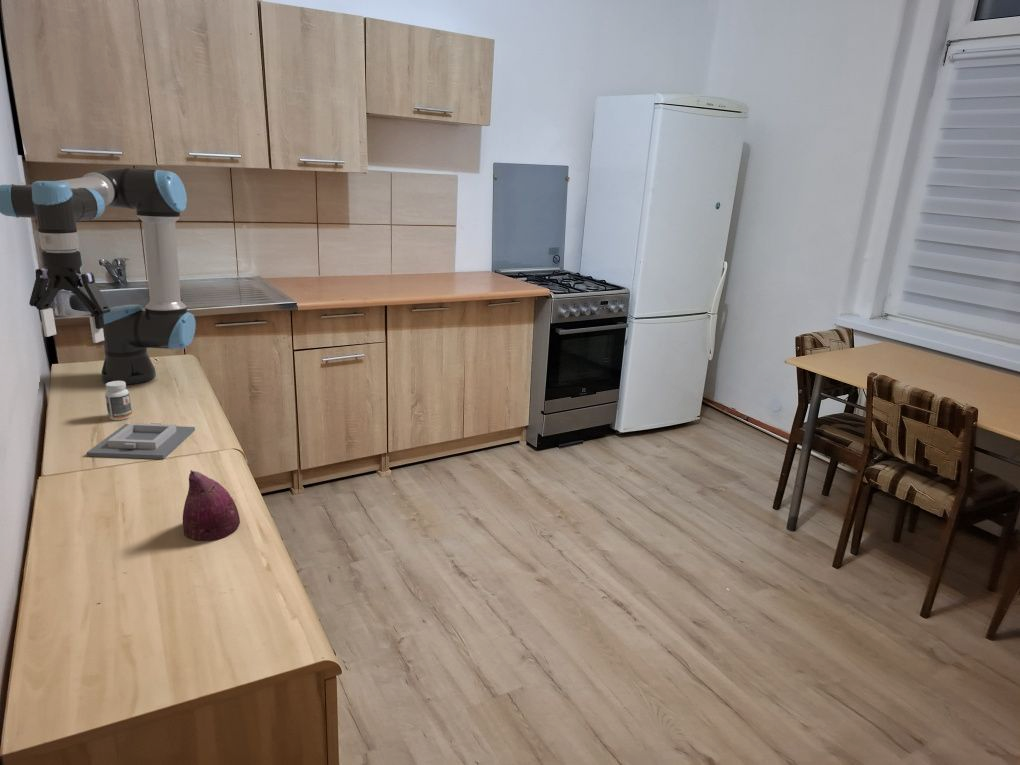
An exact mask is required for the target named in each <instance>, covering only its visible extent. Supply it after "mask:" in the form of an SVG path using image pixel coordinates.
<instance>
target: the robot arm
mask: <svg viewBox="0 0 1020 765" xmlns="http://www.w3.org/2000/svg"><path fill="white" fill-rule="evenodd" d="M187 198H188V196H187V191H186V188H185V185H184V183H183V181H182V180H181V178H180V177H179V175H177V174H176V173H175V172H174V171H169V170H163V169H144V168H129V167H128V168H127V167H119V168H118V167H117V168H110V169H106V170H105V169H104V170H99V171H94V172H92V171H91V172H89V173H88V172H87V173H85V174H84V175H83V176H82V177H76V178H70V179H60V180H36V181H33V182H32V183H31V184H30V183H29V184H28V183H27V184H14V183H10V184H1V185H0V214H1V215H3V216H6V217H13V218H17V219H18V218H35V219H36V223H37V230H38V237H39V243H40V248H41V249H42V250H43V251H42V252H41V255H42V256H41V257H42V262H43V263H42V264H43V268H36V269H35V272H34V273H35V280H34V284H33V288H32V291H31V295H30V299H29V302H28V303H29V304H28V305H29V306H31V307H34V308H36V309H37V310H38V316H39V320H40V322H41V323H42V330H43V334H44V337H46V338H47V337H48V338H49V337H51V336H55V335H57V334H58V333H57V327H56V322H55V315H54V310H53V308H51V307H52V306H51V304H52V303H53V301H54V300H55V298H56V297H57V295H58V293H59V291H62V290H63V291H66V292H71V293H72V294H74V295H75V296H76V297H77V298H78V299H79V300H80V302H81V303H82V304H83V305H84V306H85V307H86V309H87V310H88V311H89V313H90V315H89V318H88V319H89V324H90V330H91V337H92V342H93V343H94V344H97V343H100V342H102V343H103V348H104V349H103V350H104V360H103V364H102V368H101V376H100V377H101V381H102V383H105V384H106V383H108V382H112V381H124V382H125V383H126V386H127V385H135V384H141V383H145V382H149V381H151V380H153V379H154V378H156V376H157V374H156V373H157V372H156V368H155V366H154V364H153V362H152V360H151V358H150V356H149V354H148V349H166V350H167V349H168V350H184V349H186V348H188V347H189V346H190V344H191V343H192V341H193V339H194V337H195V334H196V323H197V322H196V318H195V315H194V314H193V313H192V312H188V306H187V305H186V304H185V303H184V302H183V301H182V300H181V286H180V284H181V283H180V273H179V272H180V269H179V257H178V246H177V245H178V244H177V232H176V230H177V229H176V223H177V221H178V220H179V219H181V218H180V217H181V214H180V213H182V212H185V210H186V208H187V202H188V199H187ZM106 207H110V208H111V207H113V208H121V209H127V210H128V209H129V210H130V209H131V210H135V211H136V217H137V218H138V219H140V221H141V222H142V225H143V236H144V237H143V238H144V247H145V258H146V269H147V270H146V271H147V272H146V273H147V283H148V291H149V294H148V295H149V302H148V303H147V304H146V305H145V306H144V310H143V307H142V305H141V304H124V305H117V306H112V307H110V306H109V305H108V303H107V300H106V299H105V297H104V295H103V293H102V292H101V290H100V288H99V287H98V284H97V283H96V280H95V274H94V273H93V272H87V273H82V272H81V267H82V265H83V261H82V254H81V251H80V250H79V249H80V242H79V236H78V229H77V222H82V221H83V222H84V221H92V220H94V219H98V218H100V217H101V216H102V215H103V213H105V208H106Z"/></svg>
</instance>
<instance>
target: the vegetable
mask: <svg viewBox="0 0 1020 765" xmlns="http://www.w3.org/2000/svg"><path fill="white" fill-rule="evenodd" d="M187 490H188V491H187V495H186V497H185V501H184V506H183V509H182V527H183V533H184V534H183V536H185V537H186V538H188V539H190V540H194V541H198V542H206V541H215V540H221V539H224V538H226V537H228V536H229V535H232V534H233V533H236V531H237V530H238V528H239V526H240V524H241V519H240V514H239V511H238V507H237V504H236V502H235V500H234V499H233V497H232V496H231V494H230V493H229V491H228V490H227V489H226V488H224V487H223V485H221V484H220V483H219V482H217V481H216V480H215V479H213V478H210V477H208V476H207V475H205V474H204V473H202V472H200V471H195V470H193V469H190V473H189V476H188V489H187Z"/></svg>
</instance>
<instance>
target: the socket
mask: <svg viewBox="0 0 1020 765" xmlns="http://www.w3.org/2000/svg"><path fill="white" fill-rule="evenodd" d="M195 431H196V427H195V426H182V425H181V426H179V425H176V424H166V423H165V424H162V423H161V422H160V423H159V422H158V423H154V422H153V423H139V422H138V423H136V422H131V423H125V424H124V425H122V426H121V427H119V428H118V429H117V430H116V431H114V432H113V433H111V434H110V435H109V436H107V437H106V438H104V439H103V440H102V441H100V442H99V443H98V444H96V445H95V446H93V447H92V448H90V449H89V450H88V451H86V456H87V457H99V458H101V457H103V458H126V459H127V458H128V459H130V458H131V459H150V460H151V459H153V460H165V459H166V458H167V457H168V456H169V455H171V454H172V452H174V451H175V450H176V449H178V447H179V446H180V445H181V444H182V443H183V442H184V441H185V440H187V439H188V437H190V436H191V435H192V434H193V433H194V432H195Z"/></svg>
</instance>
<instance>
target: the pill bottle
mask: <svg viewBox="0 0 1020 765" xmlns="http://www.w3.org/2000/svg"><path fill="white" fill-rule="evenodd" d="M105 389H106V390H107V391H106V392H105V395H104V396H105V403H106V410H107V416H108V419H110V420H111V421H124V420H128V419H129V418H131V417H132V416H133V413H132V412H133V411H132V405H131V398H130V391H129V390H128V389H127V385H126V383H125V382H124V381H112V382H108V383H105Z"/></svg>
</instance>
